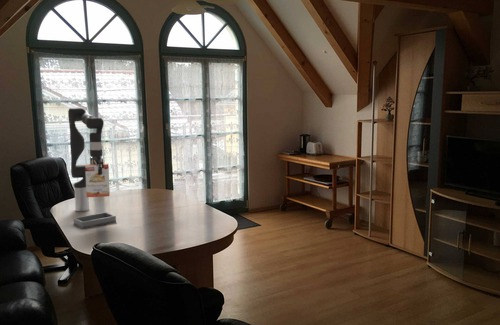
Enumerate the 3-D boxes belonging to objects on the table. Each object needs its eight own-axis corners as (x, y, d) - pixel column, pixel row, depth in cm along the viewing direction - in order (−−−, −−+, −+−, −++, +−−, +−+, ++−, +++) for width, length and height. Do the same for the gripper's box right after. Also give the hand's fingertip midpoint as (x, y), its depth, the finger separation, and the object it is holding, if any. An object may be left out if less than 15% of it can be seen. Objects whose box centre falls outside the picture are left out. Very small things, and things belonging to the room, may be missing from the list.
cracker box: (86, 197, 265) (84, 165, 262) (87, 195, 271) (85, 164, 268) (109, 196, 269) (108, 164, 266) (109, 194, 275) (108, 163, 272)
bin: (73, 224, 267) (73, 218, 267) (106, 217, 282) (106, 212, 282) (82, 228, 257) (82, 222, 257) (115, 221, 272) (115, 215, 272)
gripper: (85, 148, 268) (86, 173, 270) (95, 150, 258) (96, 176, 260) (96, 147, 273) (97, 172, 275) (106, 149, 263) (107, 174, 265)
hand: (97, 173), depth 268 cm, fingers closed on cracker box, 8 cm apart
